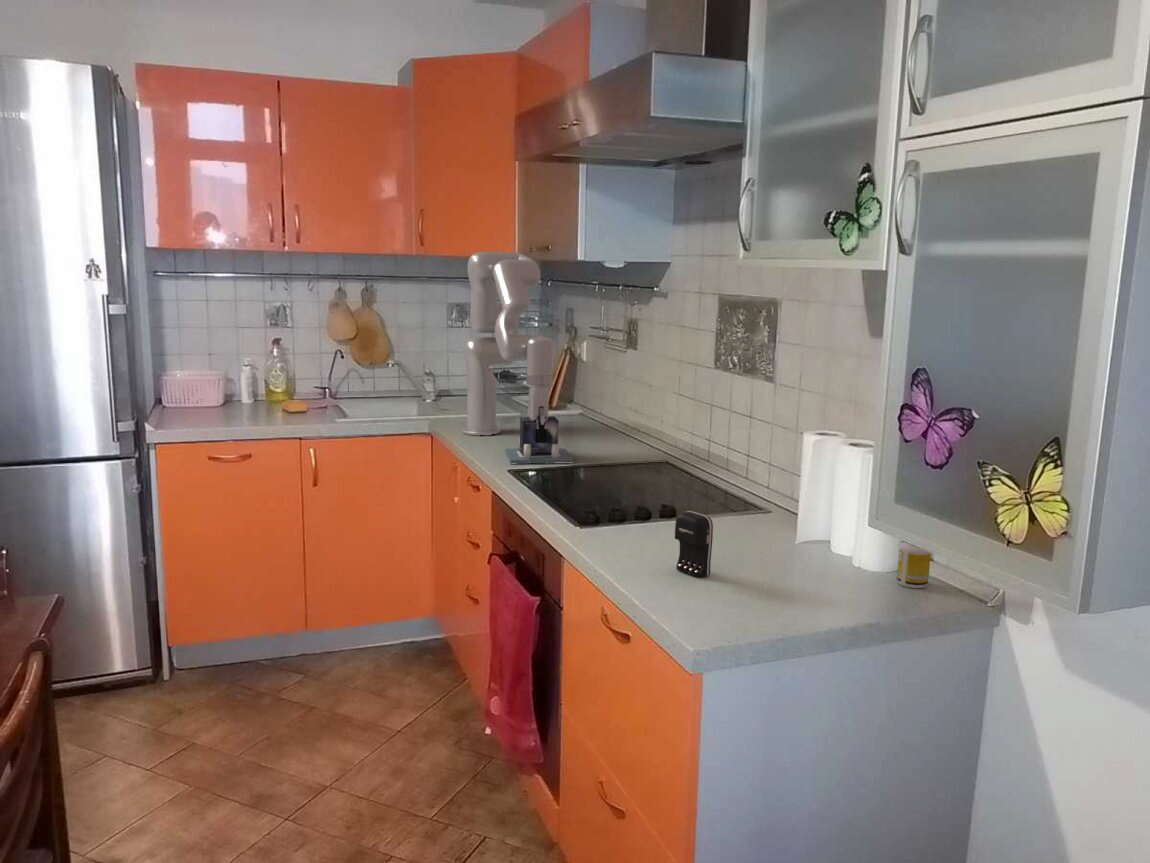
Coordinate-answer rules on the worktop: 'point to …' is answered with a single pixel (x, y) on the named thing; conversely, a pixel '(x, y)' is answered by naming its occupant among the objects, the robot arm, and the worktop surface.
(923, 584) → the supplement bottle
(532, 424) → the small box
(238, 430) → the worktop surface
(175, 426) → the worktop surface
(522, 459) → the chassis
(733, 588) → the worktop surface
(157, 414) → the worktop surface
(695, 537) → the battery charger
